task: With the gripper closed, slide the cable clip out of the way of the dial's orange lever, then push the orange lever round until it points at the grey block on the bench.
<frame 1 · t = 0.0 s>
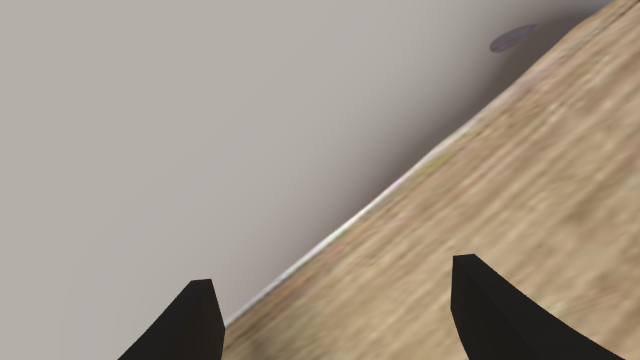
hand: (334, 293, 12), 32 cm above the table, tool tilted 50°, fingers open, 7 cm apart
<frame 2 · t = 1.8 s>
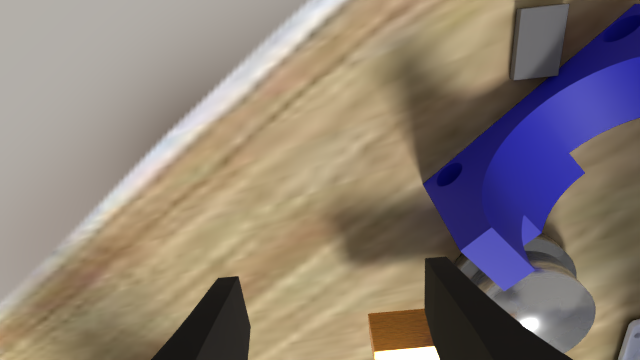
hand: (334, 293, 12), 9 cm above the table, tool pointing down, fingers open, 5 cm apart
dial housing: (506, 279, 24), on the table
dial: (479, 323, 21), point 3 cm above the table, hinge at 90.0°
grey block: (535, 42, 18), on the table
cable clip: (541, 131, 20), on the table
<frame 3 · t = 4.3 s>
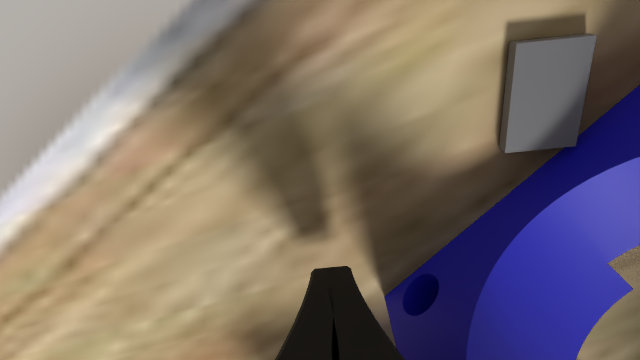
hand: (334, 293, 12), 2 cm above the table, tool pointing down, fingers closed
grey block: (540, 94, 11), on the table
cable clip: (560, 219, 13), on the table, touching gripper
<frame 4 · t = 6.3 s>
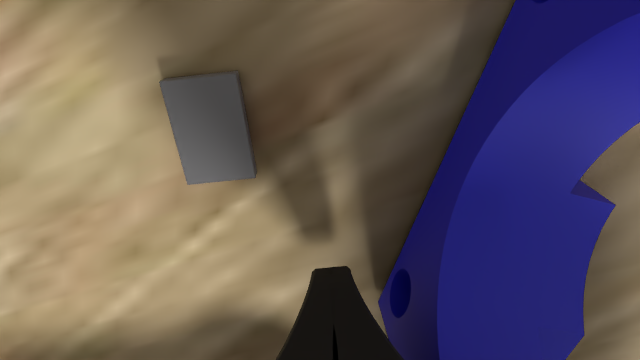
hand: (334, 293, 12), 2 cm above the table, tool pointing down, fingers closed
grey block: (213, 127, 11), on the table
cable clip: (513, 161, 12), on the table, touching gripper
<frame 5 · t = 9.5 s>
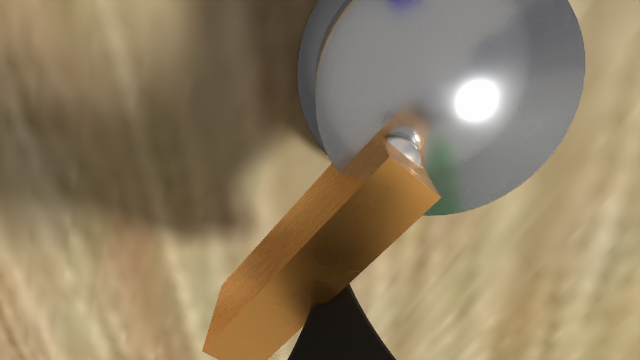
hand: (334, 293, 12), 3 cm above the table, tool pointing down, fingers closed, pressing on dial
dial housing: (413, 70, 12), on the table
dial: (364, 180, 10), point 3 cm above the table, hinge at 83.5°, touching gripper
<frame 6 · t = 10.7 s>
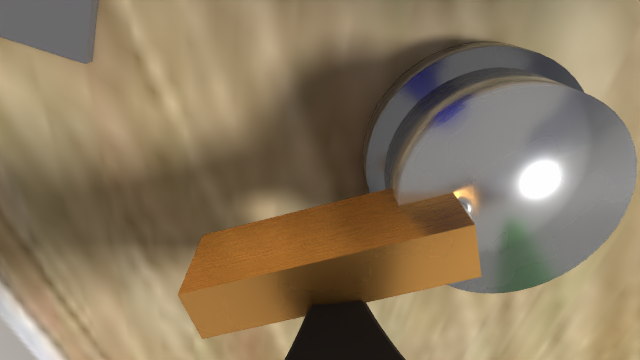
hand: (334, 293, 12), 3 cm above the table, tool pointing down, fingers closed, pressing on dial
dial housing: (467, 151, 13), on the table
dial: (406, 221, 11), point 3 cm above the table, hinge at 34.3°, touching gripper
grey block: (40, 8, 11), on the table
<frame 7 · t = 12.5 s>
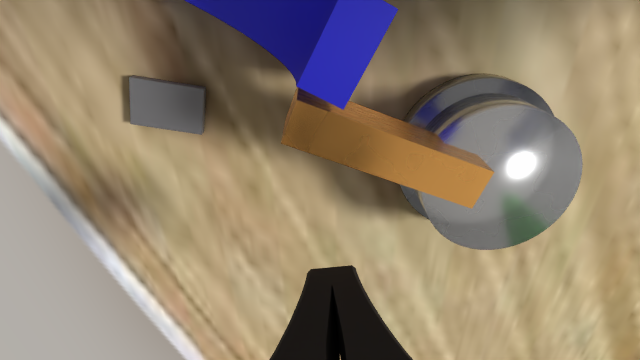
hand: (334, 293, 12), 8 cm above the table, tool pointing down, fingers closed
dial housing: (469, 151, 19), on the table
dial: (435, 158, 15), point 3 cm above the table, hinge at -11.1°
grey block: (169, 104, 17), on the table
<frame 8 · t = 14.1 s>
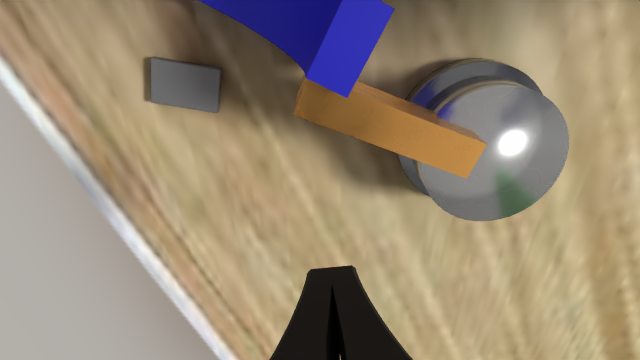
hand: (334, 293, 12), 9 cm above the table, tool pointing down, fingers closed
dial housing: (465, 131, 20), on the table
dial: (433, 134, 17), point 3 cm above the table, hinge at -11.2°
grey block: (187, 84, 19), on the table
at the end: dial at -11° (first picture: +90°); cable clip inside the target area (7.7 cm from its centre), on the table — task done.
